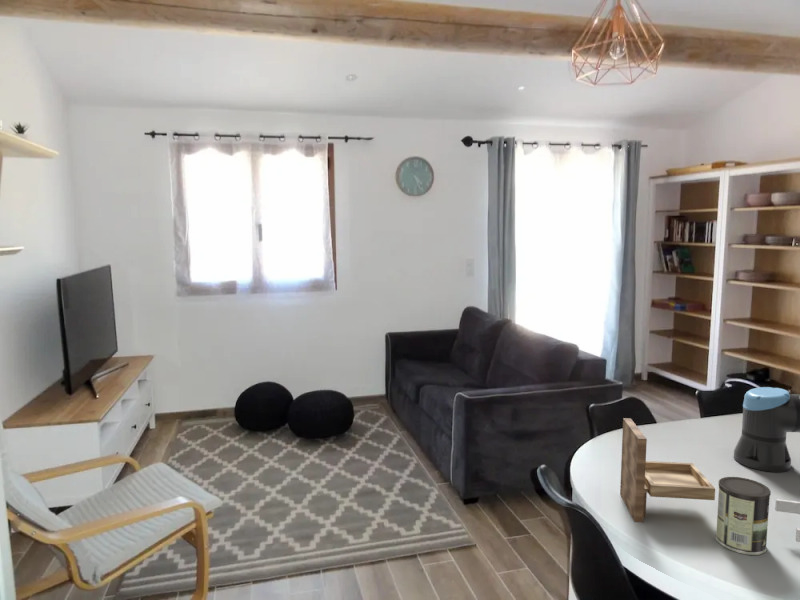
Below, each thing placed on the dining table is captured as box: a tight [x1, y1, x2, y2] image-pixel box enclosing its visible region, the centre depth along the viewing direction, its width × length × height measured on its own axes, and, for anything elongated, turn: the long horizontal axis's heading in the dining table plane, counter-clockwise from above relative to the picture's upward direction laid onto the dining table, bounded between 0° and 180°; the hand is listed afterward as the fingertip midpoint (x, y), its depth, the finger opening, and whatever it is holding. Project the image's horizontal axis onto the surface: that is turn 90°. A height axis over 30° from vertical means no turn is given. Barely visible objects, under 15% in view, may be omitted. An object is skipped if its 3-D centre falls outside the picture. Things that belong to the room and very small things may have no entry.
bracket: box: [619, 417, 716, 523], centre depth 143 cm, size 15×18×22 cm
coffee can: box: [715, 476, 772, 556], centre depth 128 cm, size 10×10×14 cm
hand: (785, 519), depth 125 cm, fingers open, 13 cm apart
